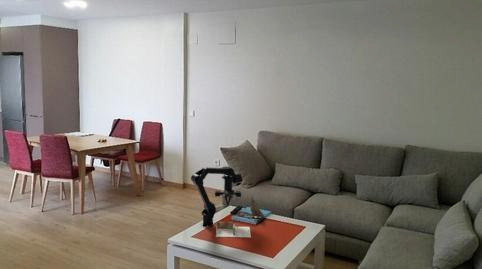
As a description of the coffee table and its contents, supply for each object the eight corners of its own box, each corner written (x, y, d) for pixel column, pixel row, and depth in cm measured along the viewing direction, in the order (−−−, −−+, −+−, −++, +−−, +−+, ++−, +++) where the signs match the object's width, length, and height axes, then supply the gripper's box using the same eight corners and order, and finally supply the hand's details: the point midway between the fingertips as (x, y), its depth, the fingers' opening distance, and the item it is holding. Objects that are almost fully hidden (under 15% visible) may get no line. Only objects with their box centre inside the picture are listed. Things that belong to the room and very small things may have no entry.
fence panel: (233, 228, 266) (233, 222, 265) (234, 228, 266) (234, 222, 265) (233, 234, 256) (233, 228, 255) (234, 234, 256) (235, 228, 256)
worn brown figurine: (249, 221, 288) (244, 198, 286) (249, 218, 294) (245, 196, 291) (264, 219, 287) (260, 196, 285) (264, 216, 293) (260, 193, 290)
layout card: (216, 237, 253) (216, 236, 253) (216, 226, 270) (216, 226, 270) (251, 237, 254) (251, 236, 254) (249, 227, 271) (249, 226, 271)
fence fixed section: (217, 229, 266) (217, 222, 265) (217, 228, 267) (217, 221, 266) (234, 229, 266) (234, 222, 266) (234, 228, 267) (234, 221, 267)
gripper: (214, 187, 269) (214, 208, 271) (241, 187, 270) (241, 209, 272) (215, 182, 280) (214, 203, 282) (241, 183, 281) (240, 203, 283)
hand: (227, 205), depth 280 cm, fingers closed
